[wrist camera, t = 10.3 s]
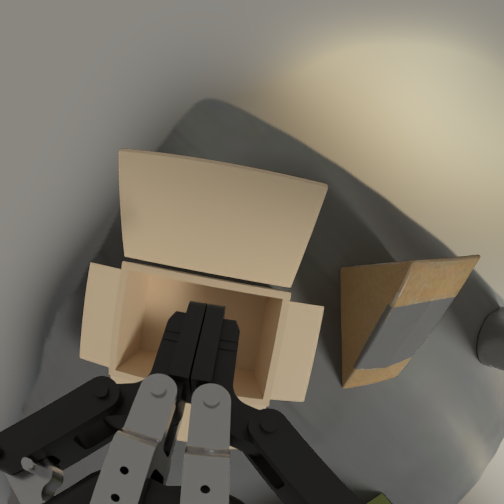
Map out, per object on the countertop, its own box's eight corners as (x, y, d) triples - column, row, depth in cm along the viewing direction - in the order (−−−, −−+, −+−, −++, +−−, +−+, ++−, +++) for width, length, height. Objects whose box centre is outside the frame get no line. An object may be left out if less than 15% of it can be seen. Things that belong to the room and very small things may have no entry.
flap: (290, 287, 24) (290, 282, 24) (328, 187, 18) (326, 183, 18) (124, 256, 23) (127, 251, 23) (118, 150, 17) (122, 147, 17)
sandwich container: (339, 390, 33) (400, 447, 18) (337, 267, 34) (411, 259, 19) (397, 377, 34) (471, 415, 19) (397, 262, 35) (482, 253, 20)
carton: (299, 292, 33) (325, 298, 24) (274, 414, 32) (289, 453, 23) (124, 259, 32) (91, 254, 23) (110, 382, 30) (79, 411, 21)
